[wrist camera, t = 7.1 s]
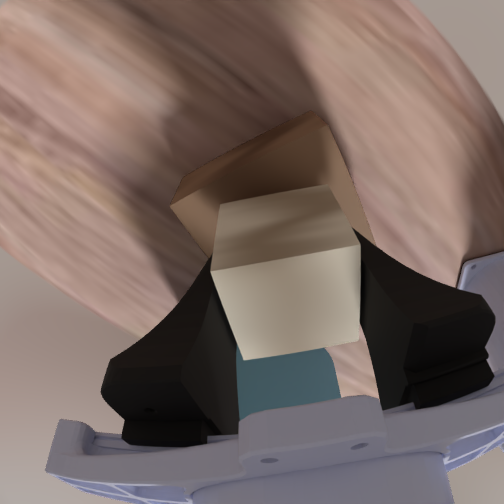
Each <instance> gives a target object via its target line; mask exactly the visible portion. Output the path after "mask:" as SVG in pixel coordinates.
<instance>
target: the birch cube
mask: <svg viewBox="0 0 504 504" xmlns="http://www.w3.org/2000/svg"><path fill="white" fill-rule="evenodd" d="M210 272H211V275H212V278H213V281H214V283H215V286H216V289H217V291H218V294H219V297H220V300H221V302H222V305H223V308H224V310H225V313H226V316H227V318H228V321H229V324H230V326H231V329H232V331H233V334H234V337H235V339H236V342H237V344H238V347H239V349H240V352H241V355H242V357H243V360H250V359H257V358H264V357H271V356H278V355H284V354H291V353H297V352H302V351H308V350H314V349H319V348H325V347H330V346H335V345H340V344H345V343H350V342H354V341H358V340H359V320H360V285H361V245H360V243H359V241H358V239H357V237H356V235H355V233H354V231H353V229H352V227H351V225H350V224H349V222H348V220H347V218H346V216H345V214H344V212H343V211H342V209H341V207H340V205H339V203H338V202H337V200H336V198H335V196H334V195H333V193H332V191H331V189H330V188H329V186H328V184H326V185H320V186H314V187H308V188H303V189H297V190H291V191H286V192H280V193H275V194H269V195H264V196H259V197H254V198H249V199H243V200H238V201H233V202H229V203H224V204H220V209H219V215H218V222H217V228H216V235H215V242H214V249H213V255H212V262H211V270H210Z"/></svg>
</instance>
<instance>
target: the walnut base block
mask: <svg viewBox="0 0 504 504" xmlns="http://www.w3.org/2000/svg"><path fill="white" fill-rule="evenodd" d="M326 184H328V186H329V188H330V189H331V191H332V193H333V195H334V196H335V198H336V200H337V202H338V203H339V205H340V207H341V209H342V211H343V212H344V214H345V216H346V218H347V220H348V222H349V224H350V225H351V227H352V228H354V229H355V230H356V231H358V232H359V233H360V234H361V235H363V236H364V237H365V238H366V239H368V240H369V241H370V242H371V243H373V244H374V245H375V246H376V244H375V241H374V238H373V235H372V232H371V229H370V226H369V224H368V221H367V218H366V215H365V213H364V210H363V207H362V205H361V202H360V199H359V197H358V194H357V192H356V189H355V187H354V184H353V182H352V179H351V177H350V174H349V172H348V170H347V167H346V165H345V162H344V160H343V158H342V155H341V153H340V151H339V148H338V146H337V144H336V142H335V139H334V137H333V135H332V133H331V131H330V128H329V126H328V125H327V124H326V123H325V122H324V121H323V120H322V119H321V118H319V117H318V116H317V115H316V114H315V113H314V112H313V111H309V112H307V113H305V114H303V115H301V116H298V117H296V118H294V119H292V120H290V121H288V122H286V123H284V124H282V125H280V126H278V127H275V128H273V129H271V130H269V131H267V132H265V133H263V134H261V135H259V136H257V137H256V138H254V139H252V140H250V141H248V142H246V143H244V144H242V145H240V146H238V147H236V148H234V149H233V150H231V151H229V152H227V153H225V154H223V155H221V156H220V157H218V158H216V159H214V160H212V161H211V162H209V163H207V164H205V165H203V166H202V167H200V168H198V169H196V170H195V171H193V172H191V173H189V174H188V175H186V176H184V177H183V179H182V181H181V183H180V185H179V187H178V189H177V191H176V193H175V195H174V197H173V200H172V202H171V204H170V208H171V209H172V210H173V212H174V213H175V214H176V216H177V217H178V219H179V220H180V221H181V223H182V224H183V225H184V227H185V228H186V229H187V231H188V232H189V233H190V235H191V236H192V237H193V239H194V240H195V241H196V243H197V244H198V245H199V247H200V248H201V249H202V251H203V252H204V253H205V255H206V256H207V257H208V259H209V258H210V256H211V255H212V253H213V249H214V242H215V235H216V228H217V222H218V215H219V209H220V204H224V203H229V202H233V201H238V200H243V199H249V198H254V197H259V196H264V195H269V194H275V193H280V192H286V191H291V190H297V189H303V188H308V187H314V186H320V185H326Z"/></svg>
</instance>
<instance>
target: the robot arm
mask: <svg viewBox="0 0 504 504" xmlns="http://www.w3.org/2000/svg"><path fill="white" fill-rule="evenodd" d="M352 229H353V231H354V233H355V235H356V237H357V239H358V241H359V243H360V245H361V285H360V320H359V322H360V324H361V327H362V329H363V332H364V335H365V338H366V341H367V345H368V349H369V353H370V357H371V361H372V365H373V369H374V374H375V378H376V383H377V388H378V393H379V398H380V401H379V399H377V398H375V397H371V396H367V395H357V396H347V397H343V398H338V399H333V400H327V401H322V402H316V403H311V404H305V405H298V406H292V407H285V408H277V409H269V410H264V411H260V412H256V413H251V414H250V415H248V416H247V417H245V418H244V419H242V420H241V421H240V417H239V404H238V389H237V369H236V351H237V342H236V339H235V337H234V334H233V331H232V329H231V326H230V324H229V321H228V318H227V316H226V313H225V310H224V308H223V305H222V302H221V300H220V297H219V294H218V291H217V289H216V286H215V283H214V281H213V278H212V275H211V272H210V270H211V262H212V255H213V253H212V255H211V256H210V258H209V259H208V261H207V262H206V264H205V266H204V267H203V269H202V270H201V272H200V274H199V275H198V277H197V278H196V280H195V281H194V283H193V284H192V286H191V287H190V288H189V290H188V291H187V292H186V294H185V295H184V297H183V298H182V299H181V300H180V302H179V303H178V304H177V305H176V306H175V308H174V309H173V310H172V311H171V312H170V313H169V314H168V315H167V316H166V317H165V318H164V319H163V320H162V321H161V322H160V323H159V324H158V325H157V326H156V327H155V328H153V329H152V330H151V331H150V332H149V333H148V334H146V335H145V336H144V337H143V338H142V339H140V340H139V341H138V342H136V343H135V344H134V345H132V346H131V347H129V348H128V349H127V350H125V351H123V352H121V353H120V354H118V355H117V356H115V357H114V358H112V359H110V362H109V365H108V368H107V371H106V374H105V377H104V381H103V384H102V388H101V394H102V397H103V398H104V400H105V401H106V402H107V404H109V406H110V407H112V409H114V410H115V411H116V412H117V413H118V414H119V415H120V416H121V417H122V418H123V419H124V420H125V421H124V426H123V431H122V434H112V433H102V432H95V431H94V430H93V429H92V428H91V427H90V426H89V425H87V424H85V423H83V422H79V421H73V420H64V419H60V420H59V423H58V425H57V429H56V432H55V435H54V439H53V442H52V446H51V450H50V453H49V457H48V461H47V465H46V469H45V471H46V472H47V473H49V474H50V475H52V476H54V477H56V478H58V479H59V480H61V481H63V482H65V483H67V484H69V485H71V486H73V487H75V488H76V489H79V490H81V491H83V492H86V493H90V494H93V495H97V496H102V497H106V498H110V499H115V500H119V501H124V502H129V503H134V504H454V500H453V495H452V491H451V487H450V484H449V480H448V476H447V472H449V471H451V470H453V469H456V468H457V467H460V466H462V465H464V464H466V463H468V462H470V461H472V460H474V459H476V458H478V457H480V456H482V455H483V454H485V453H487V452H489V451H491V450H492V449H494V448H496V447H498V446H499V447H500V449H501V450H502V451H503V452H504V251H503V252H500V253H496V254H492V255H489V256H485V257H481V258H477V259H473V260H469V261H467V262H465V263H464V264H463V267H462V271H461V275H460V279H459V283H458V287H457V288H454V287H451V286H448V285H445V284H442V283H440V282H437V281H435V280H432V279H430V278H428V277H426V276H423V275H421V274H419V273H417V272H415V271H414V270H412V269H410V268H408V267H406V266H405V265H403V264H401V263H400V262H398V261H397V260H395V259H393V258H392V257H390V256H389V255H387V254H386V253H385V252H383V251H382V250H380V249H379V248H378V247H376V246H375V245H374V244H373V243H371V242H370V241H369V240H368V239H366V238H365V237H364V236H363V235H361V234H360V233H359V232H358V231H356V230H355V229H354V228H352Z"/></svg>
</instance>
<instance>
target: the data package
mask: <svg viewBox="0 0 504 504" xmlns="http://www.w3.org/2000/svg"><path fill="white" fill-rule="evenodd" d="M236 369H237V389H238V404H239V417H240V421H241V420H242V419H244V418H245V417H247V416H248V415H250V414H251V413H256V412H260V411H264V410H269V409H277V408H285V407H292V406H298V405H305V404H311V403H316V402H322V401H327V400H333V399H338V398H341V395H340V390H339V385H338V381H337V376H336V372H335V367H334V363H333V360H332V358H331V356H330V355H329V353H328V352H327V351H326V349H325V348H319V349H314V350H308V351H302V352H297V353H291V354H284V355H278V356H271V357H264V358H257V359H250V360H243V357H242V355H241V352H240V349H239V347H238V344H237V351H236Z"/></svg>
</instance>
